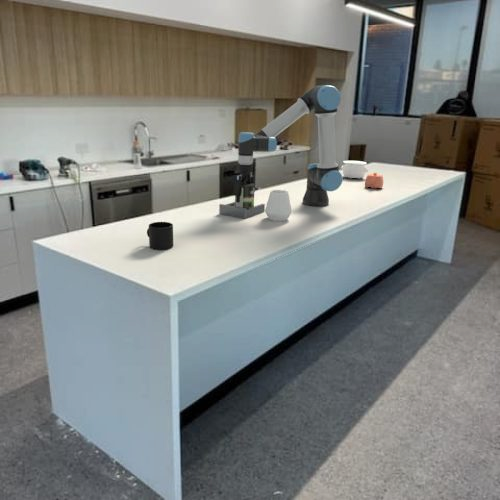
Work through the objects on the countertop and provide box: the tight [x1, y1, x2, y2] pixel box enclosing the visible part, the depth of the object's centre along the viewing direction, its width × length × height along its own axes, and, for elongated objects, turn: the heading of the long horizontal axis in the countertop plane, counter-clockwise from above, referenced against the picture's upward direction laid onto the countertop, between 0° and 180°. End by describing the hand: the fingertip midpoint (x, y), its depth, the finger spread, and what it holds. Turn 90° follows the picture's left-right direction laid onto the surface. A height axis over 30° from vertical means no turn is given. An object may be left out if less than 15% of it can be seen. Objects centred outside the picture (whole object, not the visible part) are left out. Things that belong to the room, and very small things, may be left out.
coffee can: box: [234, 182, 256, 209], centre depth 240 cm, size 10×10×14 cm
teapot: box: [364, 172, 384, 189], centre depth 318 cm, size 12×18×10 cm, turn 151°
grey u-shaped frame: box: [218, 201, 266, 219], centre depth 240 cm, size 16×20×5 cm
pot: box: [340, 160, 369, 179], centre depth 356 cm, size 22×17×12 cm
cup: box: [264, 189, 293, 222], centre depth 229 cm, size 13×13×14 cm
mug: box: [146, 221, 174, 251], centre depth 183 cm, size 9×12×9 cm
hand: (244, 206), depth 241 cm, fingers closed on coffee can, 10 cm apart
